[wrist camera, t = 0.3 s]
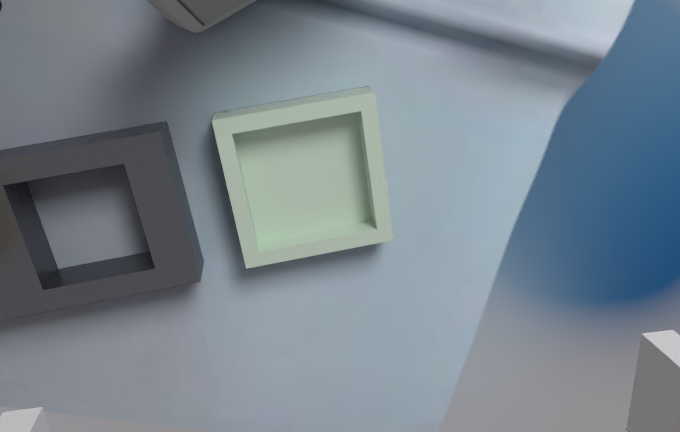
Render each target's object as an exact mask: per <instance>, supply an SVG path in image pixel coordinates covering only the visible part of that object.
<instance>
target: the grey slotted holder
mask: <svg viewBox="0 0 680 432" xmlns="http://www.w3.org/2000/svg"><path fill="white" fill-rule="evenodd" d="M120 164H124V166H125V169H126V173H127V176H128V179H129V183H130V186H131V189H132V193H133V196H134V199H135V203H136V206H137V209H138V213H139V216H140V219H141V223H142V226H143V229H144V233H145V236H146V240H147V243H148V246H149V250H150V252H147V253H141V254H136V255H131V256H125V257H120V258H115V259H110V260H104V261H99V262H94V263H89V264H83V265H78V266H73V267H67V268H62V269H58V268H57V265H56V262H55V259H54V257H53V254H52V251H51V248H50V246H49V243H48V240H47V238H46V235H45V232H44V229H43V227H42V224H41V221H40V219H39V216H38V213H37V210H36V208H35V205H34V202H33V200H32V197H31V194H30V191H29V189H28V186H27V183H26V181H30V180H36V179H41V178H47V177H53V176H58V175H64V174H69V173H75V172H81V171H86V170H92V169H97V168H103V167H109V166H114V165H120ZM203 264H204V261H203V257H202V253H201V249H200V245H199V242H198V238H197V234H196V230H195V226H194V223H193V219H192V215H191V211H190V207H189V203H188V200H187V196H186V192H185V188H184V184H183V181H182V177H181V173H180V169H179V165H178V162H177V158H176V154H175V150H174V146H173V143H172V139H171V135H170V131H169V127H168V123H167V121H166V122H160V123H155V124H149V125H143V126H137V127H132V128H126V129H120V130H114V131H109V132H103V133H97V134H91V135H86V136H80V137H74V138H68V139H63V140H57V141H51V142H45V143H40V144H34V145H28V146H22V147H17V148H11V149H5V150H0V321H1V320H6V319H11V318H16V317H21V316H26V315H31V314H37V313H42V312H47V311H52V310H57V309H62V308H67V307H73V306H78V305H83V304H88V303H93V302H98V301H103V300H109V299H114V298H119V297H124V296H129V295H134V294H140V293H145V292H150V291H155V290H160V289H165V288H170V287H176V286H181V285H186V284H191V283H196V282H200V279H201V274H202V269H203Z"/></svg>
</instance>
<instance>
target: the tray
mask: <svg viewBox="0 0 680 432" xmlns="http://www.w3.org/2000/svg"><path fill="white" fill-rule="evenodd" d="M212 125H213V129H214V133H215V137H216V142H217V146H218V150H219V155H220V159H221V163H222V167H223V172H224V176H225V180H226V185H227V189H228V193H229V197H230V202H231V206H232V210H233V215H234V219H235V223H236V227H237V232H238V236H239V240H240V245H241V249H242V253H243V257H244V262H245V266H246V269H248V268H253V267H258V266H263V265H268V264H273V263H279V262H284V261H289V260H294V259H299V258H304V257H310V256H315V255H320V254H325V253H330V252H335V251H341V250H346V249H351V248H356V247H361V246H366V245H372V244H377V243H382V242H387V241H392V240H393V232H392V224H391V216H390V208H389V200H388V192H387V184H386V176H385V168H384V160H383V152H382V144H381V136H380V128H379V120H378V112H377V104H376V96H375V92H374V91H373V90H372V89H371V88H369V87H368V86H367V87H362V88H356V89H350V90H344V91H339V92H333V93H327V94H321V95H316V96H310V97H304V98H298V99H293V100H287V101H281V102H275V103H270V104H264V105H258V106H252V107H247V108H241V109H235V110H229V111H224V112H218V113H214V115H213V118H212Z"/></svg>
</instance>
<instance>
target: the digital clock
mask: <svg viewBox="0 0 680 432" xmlns="http://www.w3.org/2000/svg"><path fill="white" fill-rule="evenodd" d="M147 1H148V2H149V3H151V4H152V5H153V6H154V7H155V8H156V9H158V10H159V11H160V12H161V13H162V14H163V15H165V16H166V17H167V18H168V19H169V20H170V21H172V22H173V23H174V24H175V25H177V26H179V27H181V28H183V29H186V30H188V31H191V32H194V33H199V32H202V31H204V30H206V29H208V28H210V27H212V26H214V25H215V24H217V23H219V22H221V21H222V20H224V19H226V18H228V17H229V16H231V15H233V14H234V13H236V12H238V11H239V10H241V9H243V8H244V7H246V6H248V5H250V4H251V3H253V2H255V1H256V0H147Z"/></svg>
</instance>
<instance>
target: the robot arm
mask: <svg viewBox="0 0 680 432" xmlns="http://www.w3.org/2000/svg"><path fill="white" fill-rule="evenodd" d="M626 430H627V431H628V432H680V335H678V334H677V333H676V332H675V331H673V330H668V331H660V332H652V333H644V334H642V335H641V341H640V348H639V354H638V361H637V366H636V373H635V379H634V385H633V392H632V398H631V404H630V410H629V417H628V423H627V429H626ZM0 432H50V431H49V428H48V424H47V421H46V417H45V414H44V410H43V407H40V408H32V409H24V410H16V411H8V412H3V413H2V415H1V417H0Z"/></svg>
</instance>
